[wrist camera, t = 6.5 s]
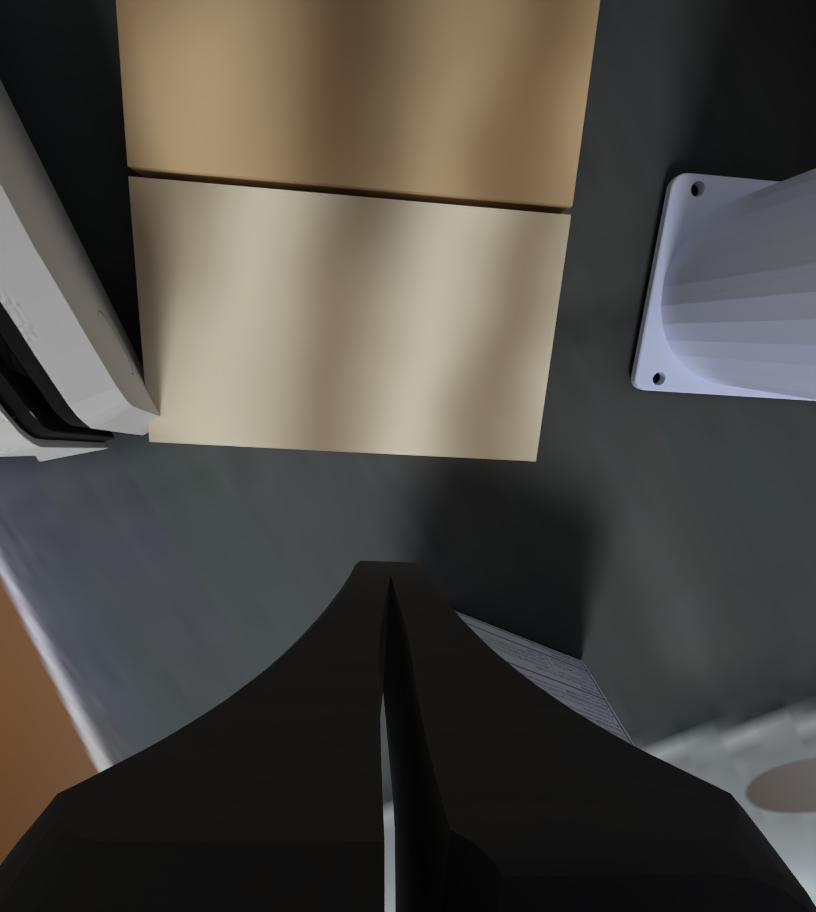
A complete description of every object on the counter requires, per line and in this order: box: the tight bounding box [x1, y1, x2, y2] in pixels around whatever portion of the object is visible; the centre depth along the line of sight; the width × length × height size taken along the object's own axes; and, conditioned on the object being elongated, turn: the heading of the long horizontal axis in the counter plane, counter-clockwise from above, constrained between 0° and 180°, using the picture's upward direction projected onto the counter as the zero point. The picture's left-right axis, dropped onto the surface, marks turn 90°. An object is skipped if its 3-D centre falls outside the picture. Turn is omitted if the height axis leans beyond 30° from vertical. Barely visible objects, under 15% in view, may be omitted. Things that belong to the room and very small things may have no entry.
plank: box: [116, 0, 600, 214], centre depth 15 cm, size 15×8×2 cm, turn 86°
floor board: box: [128, 176, 571, 461], centre depth 18 cm, size 15×9×2 cm, turn 86°
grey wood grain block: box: [455, 611, 636, 747], centre depth 19 cm, size 8×4×9 cm, turn 64°
